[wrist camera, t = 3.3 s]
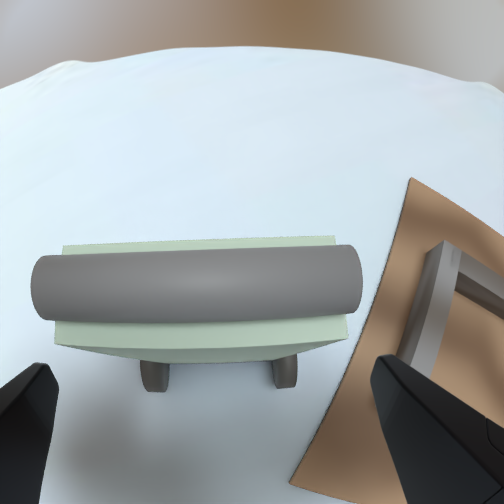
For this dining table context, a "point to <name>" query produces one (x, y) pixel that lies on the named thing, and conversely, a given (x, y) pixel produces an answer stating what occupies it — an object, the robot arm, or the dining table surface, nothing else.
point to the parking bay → (416, 343)
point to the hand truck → (201, 300)
